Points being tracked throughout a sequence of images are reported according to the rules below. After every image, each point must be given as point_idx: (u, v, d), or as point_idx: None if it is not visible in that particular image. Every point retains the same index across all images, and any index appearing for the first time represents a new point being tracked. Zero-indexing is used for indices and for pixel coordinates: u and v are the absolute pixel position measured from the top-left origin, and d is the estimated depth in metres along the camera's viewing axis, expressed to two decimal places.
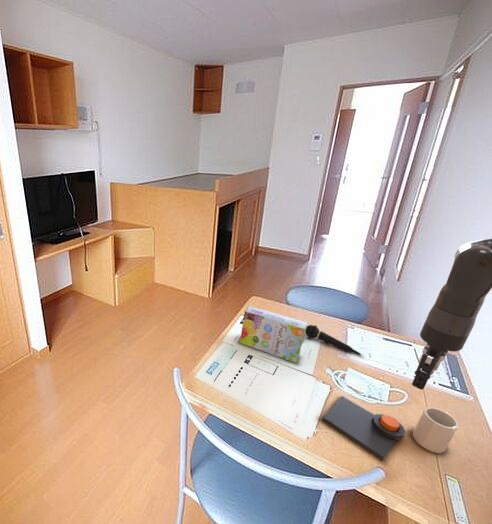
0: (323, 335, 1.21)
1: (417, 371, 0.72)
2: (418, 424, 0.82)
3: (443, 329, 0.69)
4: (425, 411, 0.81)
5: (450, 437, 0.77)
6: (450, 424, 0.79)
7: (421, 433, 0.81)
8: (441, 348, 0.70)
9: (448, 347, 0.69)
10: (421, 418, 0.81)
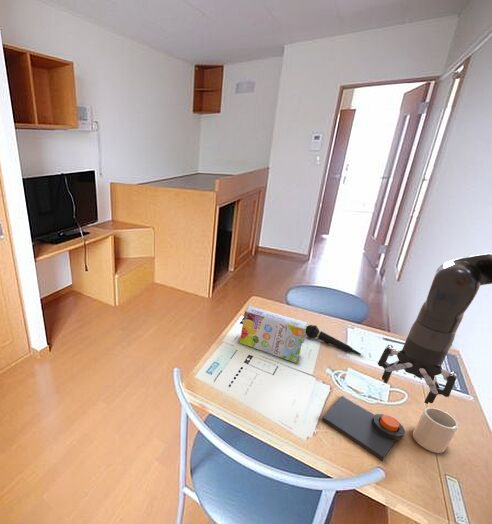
0: (323, 335, 1.21)
1: None
2: (418, 424, 0.82)
3: None
4: (425, 411, 0.81)
5: (450, 437, 0.77)
6: (450, 424, 0.79)
7: (421, 433, 0.81)
8: None
9: (404, 348, 0.76)
10: (421, 418, 0.81)
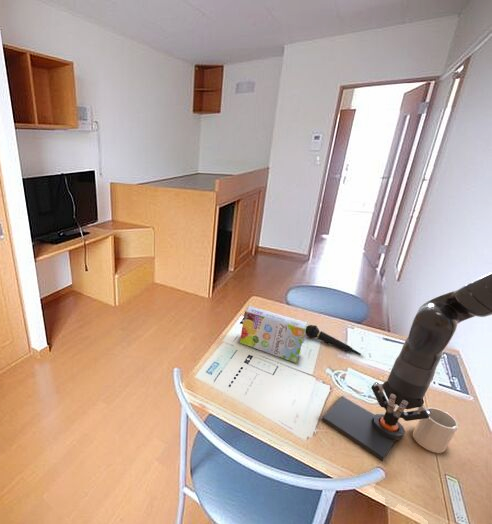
0: (323, 335, 1.21)
1: None
2: (418, 424, 0.82)
3: (394, 364, 0.80)
4: None
5: (450, 437, 0.77)
6: (450, 424, 0.79)
7: (421, 433, 0.81)
8: None
9: (388, 380, 0.80)
10: None
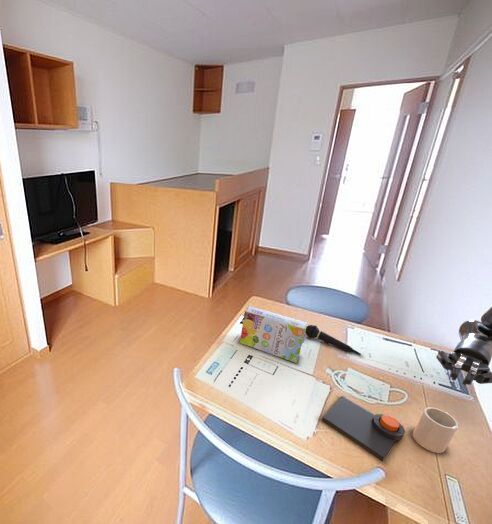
0: (323, 335, 1.21)
1: (443, 365, 0.88)
2: (418, 424, 0.82)
3: None
4: (425, 411, 0.81)
5: (450, 437, 0.77)
6: (450, 424, 0.79)
7: (421, 433, 0.81)
8: (453, 351, 0.92)
9: (457, 348, 0.91)
10: (421, 418, 0.81)
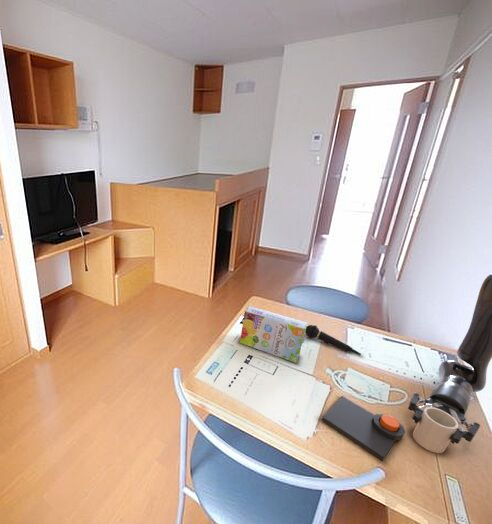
0: (323, 335, 1.21)
1: (408, 406, 0.87)
2: (418, 424, 0.82)
3: None
4: (425, 411, 0.81)
5: (450, 437, 0.77)
6: (450, 424, 0.79)
7: (421, 433, 0.81)
8: (430, 396, 0.88)
9: (433, 393, 0.88)
10: (421, 418, 0.81)
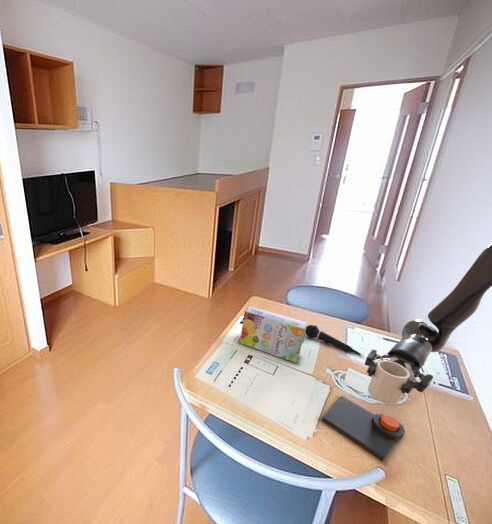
0: (323, 335, 1.21)
1: None
2: (372, 377, 0.82)
3: None
4: (378, 363, 0.80)
5: (401, 387, 0.77)
6: (402, 375, 0.79)
7: (374, 385, 0.81)
8: (388, 352, 0.88)
9: (391, 349, 0.87)
10: (375, 371, 0.81)
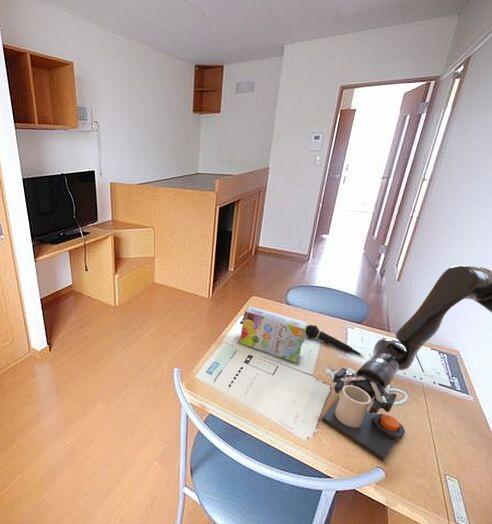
0: (323, 335, 1.21)
1: None
2: (338, 401, 0.88)
3: None
4: (343, 388, 0.86)
5: (363, 412, 0.83)
6: (365, 400, 0.85)
7: (339, 409, 0.86)
8: None
9: (360, 369, 0.92)
10: (340, 395, 0.87)
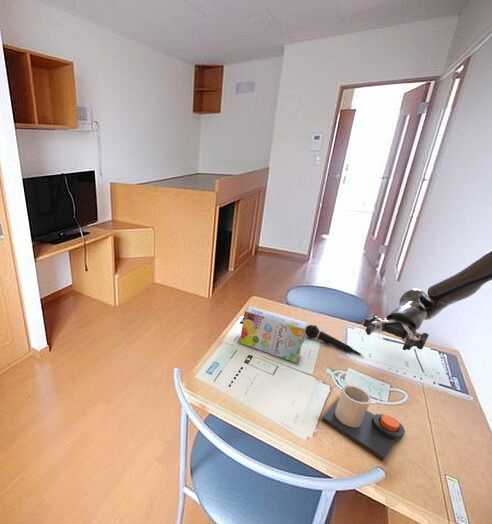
0: (323, 335, 1.21)
1: None
2: (338, 401, 0.88)
3: None
4: (343, 388, 0.86)
5: (363, 412, 0.83)
6: (365, 400, 0.85)
7: (339, 409, 0.86)
8: (386, 317, 0.94)
9: (389, 314, 0.94)
10: (340, 395, 0.87)
